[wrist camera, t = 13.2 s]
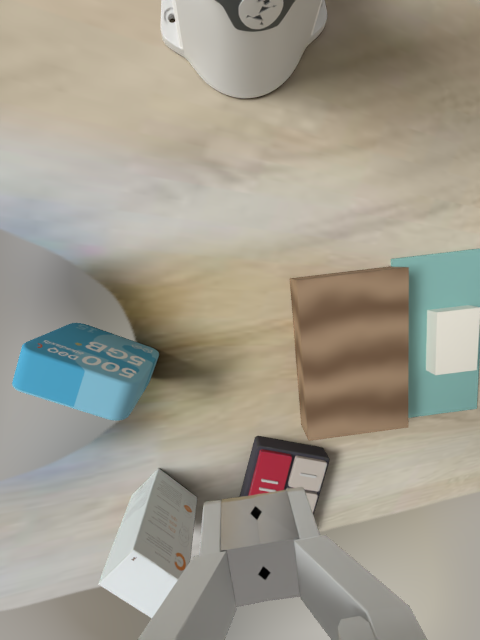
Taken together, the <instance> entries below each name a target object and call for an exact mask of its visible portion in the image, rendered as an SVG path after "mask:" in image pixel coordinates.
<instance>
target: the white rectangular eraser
mask: <svg viewBox="0 0 480 640" xmlns="http://www.w3.org/2000/svg"><path fill="white" fill-rule="evenodd" d="M479 325H480V307H476V306H471V305H465V306H457V307H449V308H440V309H432V310H427V341H426V370H427V371H429V372H430V373H432V374H434V375H441V374H449V373H457V372H465V371H473V370H477V359H478V342H479Z"/></svg>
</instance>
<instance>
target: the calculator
mask: <svg viewBox="0 0 480 640" xmlns="http://www.w3.org/2000/svg"><path fill="white" fill-rule="evenodd" d="M328 464H329V457H328V456H327V454H326V452H325V451H324V449H323V448H322V447H316V446H311V445H305V444H300V443H294V442H289V441H283V440H278V439H272V438H267V437H261V436H256V437H255V440H254V443H253V447H252V451H251V455H250V458H249V462H248V466H247V470H246V474H245V478H244V482H243V486H242V490H241V494H240V496H239V497H243V496H251V495H257V494H263V493H269V492H275V491H281V490H286V489H292V488H297V487H303V488H304V490H305V492H306V495H307V498H308V501H309V504H310V507H311V510H312V512H313V515H314V511H315V508H316V505H317V501H318V498H319V494H320V491H321V488H322V484H323V481H324V477H325V474H326V470H327V467H328Z"/></svg>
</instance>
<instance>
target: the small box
mask: <svg viewBox="0 0 480 640" xmlns="http://www.w3.org/2000/svg"><path fill="white" fill-rule="evenodd" d="M196 505H197V497H196V496H195V495H193V494H192V493H191V492H189V491H188V490H187V489H185V488H184V487H183V486H181V485H180V484H179V483H178V482H176V481H175V480H173V479H172V478H171V477H170V476H168V475H167V474H165V473H164V472H163V471H162V470H160V469H157V471H155V472H154V473H153V474H152V475H151V476H150V477H149V478H148V479H147V480H146V481H145V482H144V483H143V484H142V485H141V486H140V487H139V488H138V489H137V490H136V491H135V492H134V493H133V494H132V496H131V499H130V501H129V504H128V507H127V509H126V512H125V514H124V517H123V520H122V522H121V525H120V528H119V530H118V533H117V536H116V538H115V541H114V543H113V546H112V549H111V551H110V554H109V557H108V559H107V562H106V565H105V567H104V570H103V573H102V575H101V578H100V581H99V583H98V585H100V586H102V587H103V588H105V589H107V590H108V591H110V592H111V593H113V594H114V595H116V596H118V597H119V598H121V599H122V600H124V601H125V602H127V603H128V604H130V605H132V606H134V607H135V608H136V609H138V610H139V611H141V612H143V613H144V614H146V615H147V616H149V617H150V618H153V616H154V615H155V613H156V612H157V610H158V609H159V607H160V606H161V604H162V603H163V601H164V600H165V598H166V597H167V595H168V594H169V592H170V591H171V589H172V588H173V586H174V585H175V584H176V582H177V581H178V579H179V578H180V576H181V575H182V573H183V572H184V570H185V569H186V567H187V566H188V564H189V563H190V558H191V550H192V540H193V532H194V523H195V514H196Z"/></svg>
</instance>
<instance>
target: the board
mask: <svg viewBox="0 0 480 640" xmlns="http://www.w3.org/2000/svg"><path fill="white" fill-rule="evenodd" d="M290 287H291V300H292V313H293V325H294V338H295V351H296V363H297V376H298V389H299V401H300V414H301V425H302V427H303V429H304V432H305V434H306V436H307V438H308V440H309V441H310V440H318V439H325V438H333V437H340V436H348V435H355V434H362V433H370V432H377V431H385V430H392V429H400V428H407V427H408V362H409V267H383V268H374V269H366V270H357V271H349V272H341V273H332V274H324V275H315V276H307V277H299V278H290Z"/></svg>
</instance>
